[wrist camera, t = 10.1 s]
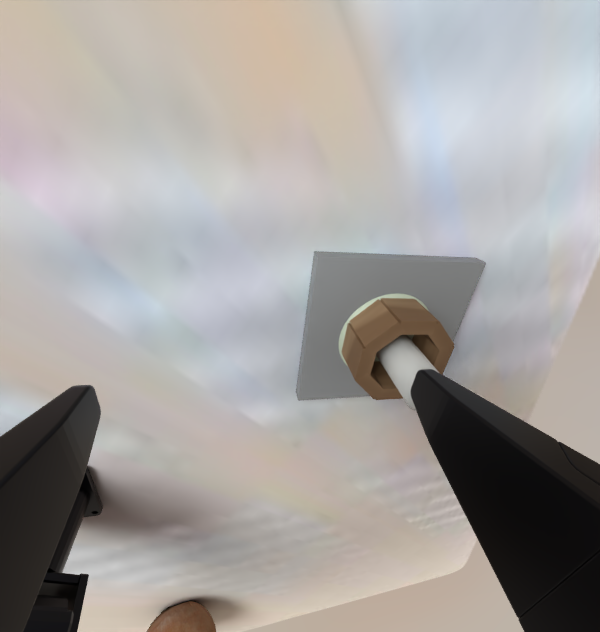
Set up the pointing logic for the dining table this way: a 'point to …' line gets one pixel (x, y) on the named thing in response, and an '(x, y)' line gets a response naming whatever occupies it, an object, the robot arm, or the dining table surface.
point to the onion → (184, 619)
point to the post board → (360, 292)
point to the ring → (381, 329)
